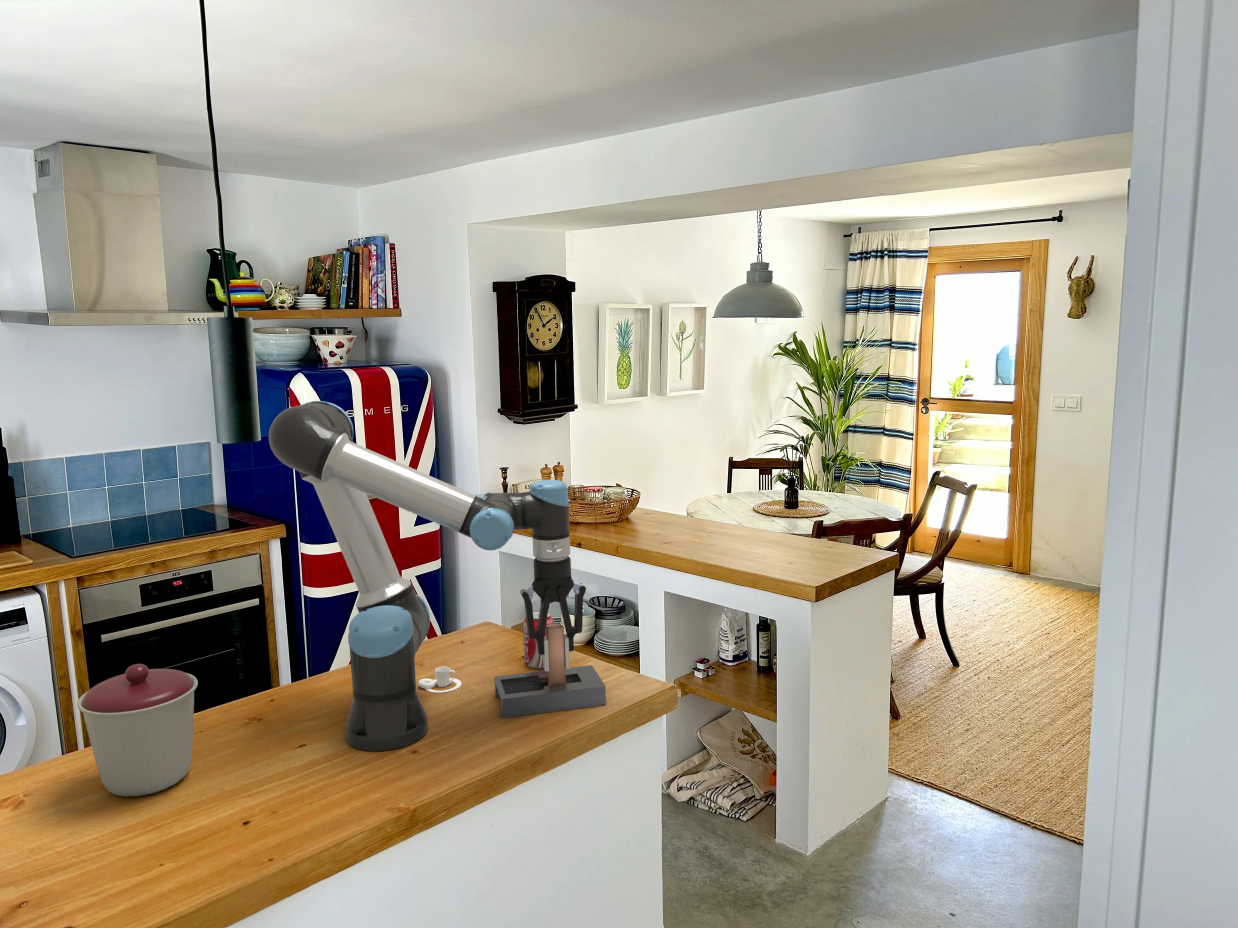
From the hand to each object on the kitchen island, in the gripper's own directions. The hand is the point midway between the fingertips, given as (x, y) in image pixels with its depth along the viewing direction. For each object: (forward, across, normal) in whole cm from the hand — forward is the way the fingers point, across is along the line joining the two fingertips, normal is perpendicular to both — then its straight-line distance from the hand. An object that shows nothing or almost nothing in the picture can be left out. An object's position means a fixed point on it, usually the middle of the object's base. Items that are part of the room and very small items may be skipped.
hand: (556, 667), depth 184 cm
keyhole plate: (+7, -1, 0) cm, 7 cm away
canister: (+6, -74, -13) cm, 76 cm away
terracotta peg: (+6, 0, 0) cm, 6 cm away
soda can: (+7, 0, +20) cm, 21 cm away
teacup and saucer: (+7, -24, +18) cm, 30 cm away
